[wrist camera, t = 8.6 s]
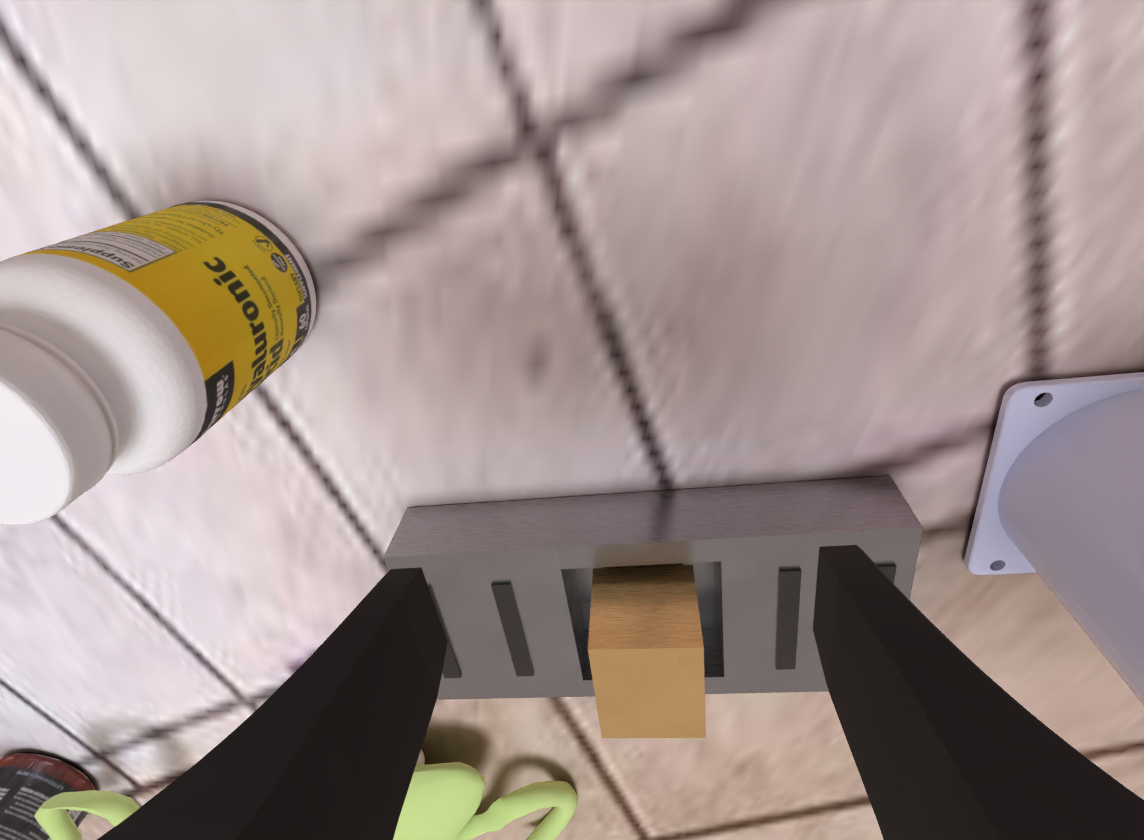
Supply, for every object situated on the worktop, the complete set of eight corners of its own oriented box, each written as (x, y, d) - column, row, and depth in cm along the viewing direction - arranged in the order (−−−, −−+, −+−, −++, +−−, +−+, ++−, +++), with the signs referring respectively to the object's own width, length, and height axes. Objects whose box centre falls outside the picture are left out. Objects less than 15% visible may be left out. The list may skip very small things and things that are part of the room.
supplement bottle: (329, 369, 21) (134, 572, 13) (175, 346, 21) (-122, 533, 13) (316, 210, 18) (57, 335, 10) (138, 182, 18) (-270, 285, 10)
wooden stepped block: (687, 527, 23) (703, 647, 18) (690, 611, 25) (705, 737, 21) (595, 531, 23) (587, 649, 19) (606, 613, 26) (601, 737, 21)
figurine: (57, 740, 36) (-31, 845, 31) (410, 598, 27) (364, 713, 23) (278, 883, 43) (234, 986, 38) (609, 807, 35) (607, 926, 30)
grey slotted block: (890, 475, 22) (924, 529, 19) (867, 630, 26) (893, 692, 23) (407, 507, 24) (382, 559, 22) (454, 644, 28) (438, 702, 26)
